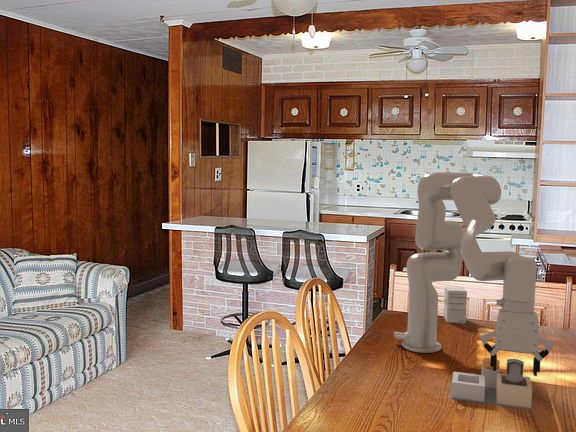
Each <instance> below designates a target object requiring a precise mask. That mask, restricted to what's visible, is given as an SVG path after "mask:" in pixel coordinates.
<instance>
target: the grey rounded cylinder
mask: <svg viewBox="0 0 576 432" xmlns="http://www.w3.org/2000/svg"><path fill="white" fill-rule="evenodd" d="M524 364H525V362H524V361H523V360H521V359H517V358H508V359H506V367H505V369H506V370H505V374H506V382H505V384H511V385H519V386H522V381H523V376H524V366H525V365H524Z"/></svg>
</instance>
